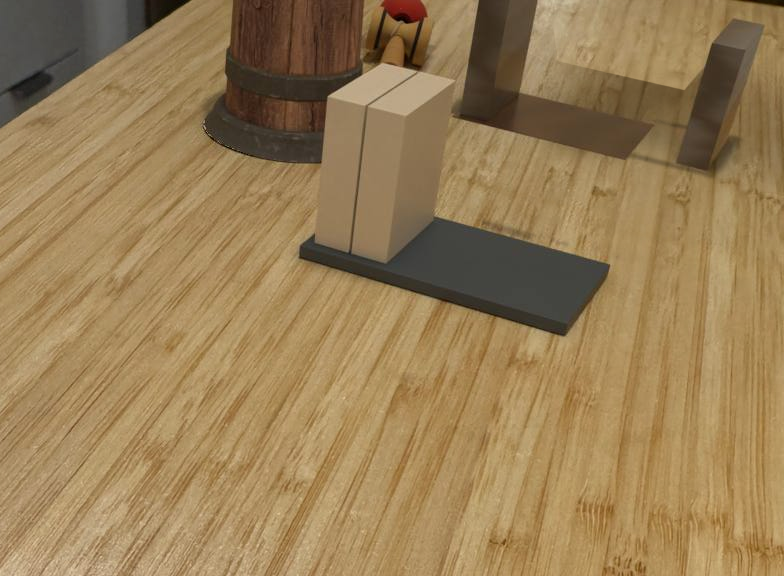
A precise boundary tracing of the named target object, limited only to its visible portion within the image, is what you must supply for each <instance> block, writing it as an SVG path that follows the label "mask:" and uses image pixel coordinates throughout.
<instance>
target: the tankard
mask: <svg viewBox="0 0 784 576" xmlns="http://www.w3.org/2000/svg"><path fill="white" fill-rule="evenodd" d="M364 8H365V0H232V11H231V24H230V37H229V38H230V39H229V46H228V47H227V49H226V51H225V61H224V62H225V64H224V65H225V66H224V74H225V76H226V87H225V92H224V93H222V94H221V95H220V96H219V97H218V98H217V99H216V101H215V102H214V104H213V107H212V109H211V111H209V112H208V113H209V114H208V113H207V114H208V115H207V114H206V115H207V116H206V115H205V116H206V118H205V117H204V118H205V123H204V125H205V127H206V131H207V132H208V134H210V135H211V136H212V138H214V139H215V140H216V141H217V142H216V141H215V140H214V141H215V142H216V143H218V141H219V142H220V143H221V144H223V145H226V146H229V147H230V148H234V149H235V150H239V151H240V152H239V153H241V152H243V153H242V154H244V153H245V154H244V155H247V154H248V155H247V156H251V155H253V156H252V157H254V158H255V157H256V158H259V159H265V160H270V161H276V162H277V161H278V162H287V163H288V162H289V163H303V164H305V163H314V164H315V163H317V164H318V163H322V153H323V142H324V131H325V120H326V109H327V97H328V96H329V95H331V94H332V93H334V92H335V91H337V90H339V89H340V88H342V87H344V86H345V85H347V84H349V83H350V82H352V81H354V80H355V79H357V78H359V77H360V76H362V75H363V71H364V70H363V69H364V63H363V60H362V59H361V52H362V37H363V23H364ZM208 134H207V135H208ZM212 138H211V139H212ZM221 144H220V145H221ZM223 145H222V146H223ZM230 148H229V149H230Z"/></svg>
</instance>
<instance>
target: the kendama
mask: <svg viewBox="0 0 784 576" xmlns="http://www.w3.org/2000/svg"><path fill="white" fill-rule="evenodd" d="M434 25H435V19H432V18H430V17H429V16H428V12H427V8H426V5H425V4H424V3H423V1H422V0H383V1H382V2H381V3H380V5H376V6H375V7H374V9H373V13H372V15H371V19H370V23H369V27H368V31H367V35H366V39H365V43H364V47H365V49H367V50H369V51H373V52H374V51H375V50H377V49H379V48H383V47H385V48H384V51H383V53H382V56H381V58H380V61H379V63H378V65H380V64H382V63H385V64H389V65H393V66H398V67H402V68H404V63H405V54H406V56H407V57H408V58H409V61H410V62H411V64H412V65H415V66H419V67H422V66H423V64H424V62H425V59H426V55H427V51H428V47H429V44H430V40H431V36H432V34H433V29H434Z"/></svg>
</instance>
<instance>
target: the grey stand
mask: <svg viewBox="0 0 784 576" xmlns="http://www.w3.org/2000/svg"><path fill="white" fill-rule="evenodd" d="M538 2H539V1H538V0H478V2H477V8H476V14H475V21H474V26H473V32H472V38H471V45H470V50H469V51H470V52H469V57H468V63H467V68H466V69H467V70H466V76H465V81H464V87H463V92H462V99H461V105H460V109H459V110H458V111H457V112H456V113H454V114H452V115H451V118H453V119H459V120H462V121H465V122H470V123H474V124H478V125H483V126H486V127H490V128H495V129H498V130H502V131H507V132H510V133H514V134H518V135H522V136H527V137H531V138H534V139H539V140H542V141H546V142H551V143H554V144H559V145H563V146H568V147H571V148H575V149H578V150H583V151H586V152H591V153H596V154H599V155H603V156H607V157H612V158H616V159H620V160H624V161H626V160H627V159H628V158H629V156H630V155H631V154H632V153H633V152H634V150H635V149H637V147H638V146H639V144H640V143H641V142H642V141H643V140H644V139H645V137H646V136H648V134H649V133H650V131H651V130H652V129H653V128H654V127H655V123H654V124H653V123H649V122H645V121H641V120H636V119H632V118H629V117H628V118H627V117H624V116H619V115H615V114H611V113H607V112H602V111H598V110H594V109H589V108H586V107H581V106H577V105H574V104H569V103H565V102H561V101H557V100H552V99H548V98H544V97H539V96H536V95H531V94H526V93H522V92H521V88H522V83H523V77H524V72H525V68H526V63H527V57H528V52H529V46H530V43H531V36H532V32H533V26H534V22H535V16H536V11H537V8H538V7H537V6H538ZM764 29H765V24H764V23H759V22H754V21H748V20H744V19H738V18H732V19H731V20H730V21H729V23H728V24H727V25H726V26H725V27H724V28H723V30H722V31H721V32H720V33H719V34H718V35H717V36H716V37H715V39H714V40H713V41H712V42H711V45H710V48H709V52H708V55H707V58H706V61H705V64H704V68H703V71H702V74H701V78H700V80H699V85H698V88H697V91H696V95H695V99H694V101H693V105H692V108H691V112H690V115H689V119H688V122H687V125H686V128H685V131H684V135H683V139H682V142H681V144H680V148H679V152H678V155H677V158H676V162H675V164H677V165H681V166H685V167H690V168H693V169H697V170H702V171H706V172H707V171H709V169H710V168H711V166H712V165H713V163H714V161H715V160H716V159H717V157H718V156H719V154H720V152H721V151H722V150H723V148H724V147H725V145H726V143H728V140H729V137H730V134H731V130H732V128H733V124H734V121H735V118H736V115H737V112H738V109H739V106H740V103H741V100H742V97H743V94H744V91H745V88H746V84H747V81H748V79H749V76H750V72H751V69H752V66H753V63H754V60H755V57H756V54H757V51H758V49H759V45H760V41H761V39H762V35H763V32H764Z"/></svg>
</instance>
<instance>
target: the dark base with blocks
mask: <svg viewBox="0 0 784 576" xmlns="http://www.w3.org/2000/svg"><path fill="white" fill-rule="evenodd" d="M456 82H457V81H456V79H452V78H448V77H445V76H444V77H443V76H439V75H436V74H431V73H426V72H422V71H419V72H418V71H417V70H414V69H410V68H405V67H403V68H402V67H398V66H393V65H389V64H385V63H382V64H380V65H379V64H378V65H377V66H375V67H373V68H372V69H370V70H369V71H367V72H365V73H364V74H363V73H362V76H360V77H359V78H357V79H355V80H354V81H352V82H350V83H349V84H347V85H345V86H344V87H342V88H340V89H339V90H337V91H335V92H334V93H332V94H331V95H329V96H328V97H327V109H326V120H325V131H324V142H323V153H322V162H321V164H320V165H321V166H320V177H319V186H318V188H319V189H318V200H317V212H316V221H315V232H314V233H313V234H312V235H311V236H310V237H308V238H307V239H306V240H305V241H303V242H302V243H301V244H299V250H298V251H299V252H298V257H299V258H301V259H303V260H309V261H312V262H314V263H318V264H322V265H325V266H328V267H332V268H335V269H338V270H342V271H345V272H348V273H352V274H356V275H358V276H362V277H365V278H369V279H371V280H375V281H379V282H382V283H386V284H389V285H392V286H396V287H400V288H403V289H406V290H409V291H413V292H416V293H419V294H423V295H426V296H430V297H433V298H436V299H440V300H444V301H447V302H450V303H453V304H457V305H460V306H464V307H466V308H471V309H473V310H477V311H481V312H484V313H487V314H491V315H494V316H497V317H500V318H503V319H507V320H511V321H513V322H517V323H520V324H525V325H528V326H531V327H535V328H538V329H541V330H544V331H547V332H551V333H554V334H558V335H561V336H566V335H567V333H568V332H569V330H570V329H571V328H572V326H573V325H574V324H575V322H576V321H577V319H578V318H579V316H580V315H581V313H582V312H583V311H584V309H585V308H586V306H587V305H588V304H589V302H590V301H591V300H592V298H593V297H594V295H595V294H596V293H597V291H598V290H599V288H600V287H601V286H602V284H603V283H604V282H605V280H606V278H608V276H609V272H610V268H611V264H610V263H606V262H603V261H599V260H595V259H592V258H588V257H585V256H582V255H577V254H574V253H570V252H566V251H563V250H559V249H556V248H551V247H548V246H545V245H540V244H537V243H533V242H530V241H526V240H523V239H519V238H515V237H512V236H508V235H504V234H500V233H497V232H494V231H490V230H487V229H482V228H479V227H475V226H472V225H468V224H464V223H462V222H461V223H460V222H458V221H454V220H451V219H447V218H443V217H439V216H436V215H435V213H436V206H437V200H438V194H439V188H440V181H441V175H442V171H443V170H442V168H443V163H444V157H445V151H446V144H447V137H448V132H449V125H450V120H451V114H452V108H453V107H452V106H453V101H454V95H455V89H456Z"/></svg>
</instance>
